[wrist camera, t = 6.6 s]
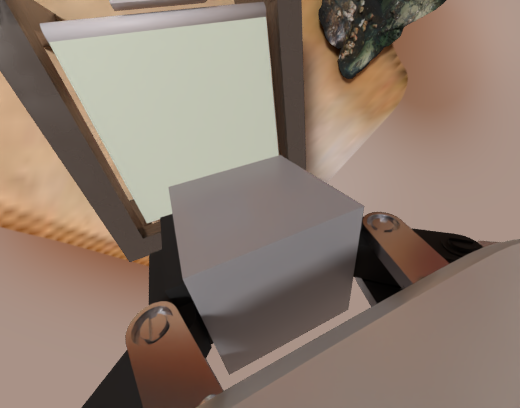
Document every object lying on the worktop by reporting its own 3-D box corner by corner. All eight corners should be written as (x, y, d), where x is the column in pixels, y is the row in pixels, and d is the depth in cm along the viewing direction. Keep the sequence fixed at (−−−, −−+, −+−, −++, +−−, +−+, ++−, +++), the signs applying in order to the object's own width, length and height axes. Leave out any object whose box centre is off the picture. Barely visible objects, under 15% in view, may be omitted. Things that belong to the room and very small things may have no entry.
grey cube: (168, 187, 9) (182, 279, 5) (280, 154, 10) (364, 206, 6) (202, 271, 11) (229, 374, 7) (286, 236, 13) (347, 309, 9)
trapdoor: (-12, -86, 11) (-39, -112, 9) (247, -83, 15) (259, -102, 13) (147, 215, 22) (146, 226, 20) (274, 173, 25) (283, 180, 24)
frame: (23, 15, 17) (-66, -27, 10) (252, -5, 22) (300, -43, 15) (135, 214, 28) (129, 262, 21) (272, 170, 33) (306, 196, 26)
